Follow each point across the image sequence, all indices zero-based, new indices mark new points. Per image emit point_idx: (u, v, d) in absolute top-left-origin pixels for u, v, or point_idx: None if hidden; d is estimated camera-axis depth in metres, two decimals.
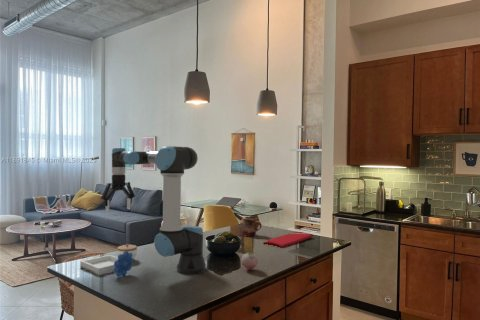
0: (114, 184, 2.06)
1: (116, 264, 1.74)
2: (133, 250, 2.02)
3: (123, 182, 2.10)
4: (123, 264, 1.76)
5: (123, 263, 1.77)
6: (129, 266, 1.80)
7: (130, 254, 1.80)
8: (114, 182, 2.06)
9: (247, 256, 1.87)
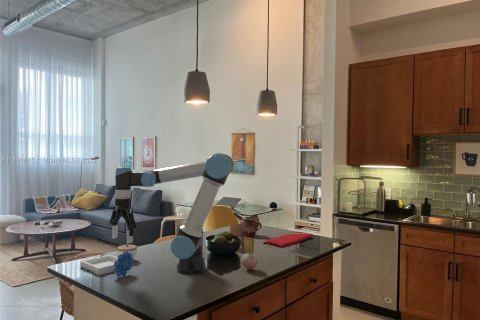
0: (117, 208, 1.80)
1: (116, 264, 1.74)
2: (133, 250, 2.02)
3: (123, 208, 1.76)
4: (123, 264, 1.76)
5: (123, 263, 1.77)
6: (129, 266, 1.80)
7: (130, 254, 1.80)
8: (117, 206, 1.80)
9: (247, 256, 1.87)
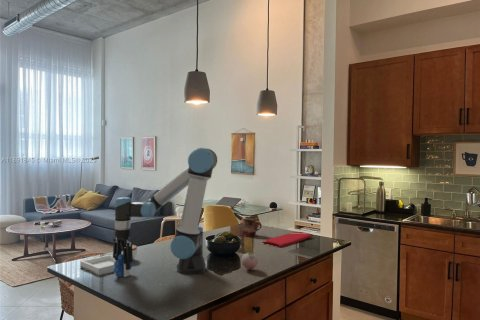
0: (117, 239, 1.80)
1: (116, 264, 1.74)
2: (133, 250, 2.02)
3: (124, 239, 1.76)
4: (123, 264, 1.76)
5: (123, 263, 1.77)
6: None
7: None
8: (117, 237, 1.80)
9: (247, 256, 1.87)
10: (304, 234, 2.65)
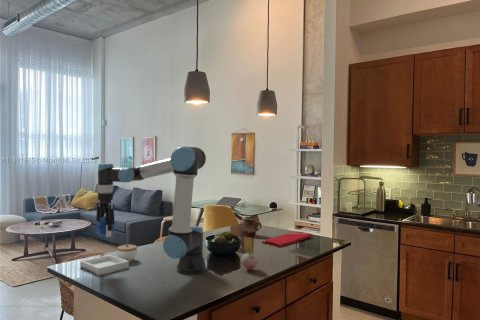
0: (100, 203, 1.91)
1: (98, 225, 1.85)
2: (133, 250, 2.02)
3: (106, 202, 1.87)
4: (105, 225, 1.88)
5: (105, 225, 1.88)
6: (111, 228, 1.92)
7: None
8: (100, 200, 1.92)
9: (247, 256, 1.87)
10: (304, 234, 2.66)
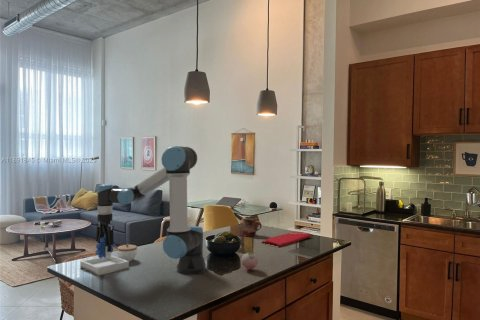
0: (100, 223, 1.92)
1: (98, 246, 1.85)
2: (133, 250, 2.02)
3: (105, 223, 1.88)
4: (105, 246, 1.88)
5: (105, 246, 1.88)
6: (111, 249, 1.92)
7: None
8: (99, 221, 1.92)
9: (247, 256, 1.87)
10: (303, 234, 2.66)
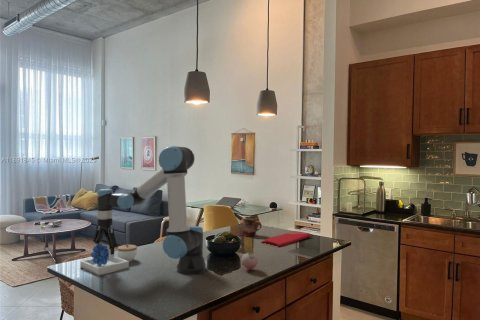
0: (99, 228, 1.92)
1: (93, 254, 1.87)
2: (133, 250, 2.02)
3: (105, 228, 1.88)
4: (100, 253, 1.90)
5: (100, 253, 1.90)
6: (107, 255, 1.93)
7: (104, 245, 1.95)
8: (100, 226, 1.92)
9: (247, 256, 1.87)
10: (303, 234, 2.66)
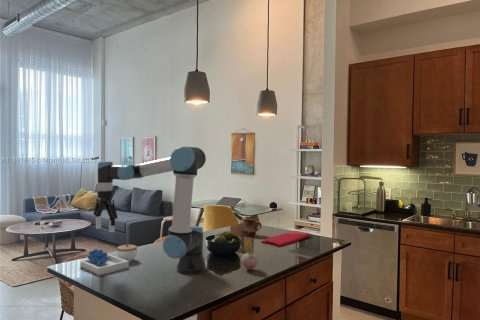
0: (100, 200, 1.92)
1: (89, 256, 1.89)
2: (133, 250, 2.02)
3: (105, 200, 1.88)
4: (97, 255, 1.92)
5: (96, 254, 1.92)
6: (105, 256, 1.95)
7: (100, 250, 1.98)
8: (100, 198, 1.92)
9: (247, 256, 1.87)
10: (302, 233, 2.67)
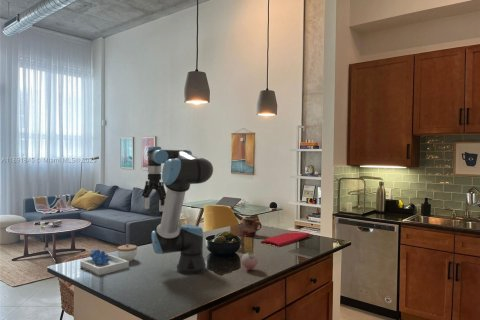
0: (149, 183, 2.07)
1: (92, 253, 1.91)
2: (133, 250, 2.02)
3: (155, 182, 2.04)
4: (99, 254, 1.93)
5: (98, 254, 1.94)
6: (106, 257, 1.95)
7: (102, 251, 1.99)
8: (149, 181, 2.07)
9: (247, 256, 1.87)
10: (302, 233, 2.67)
